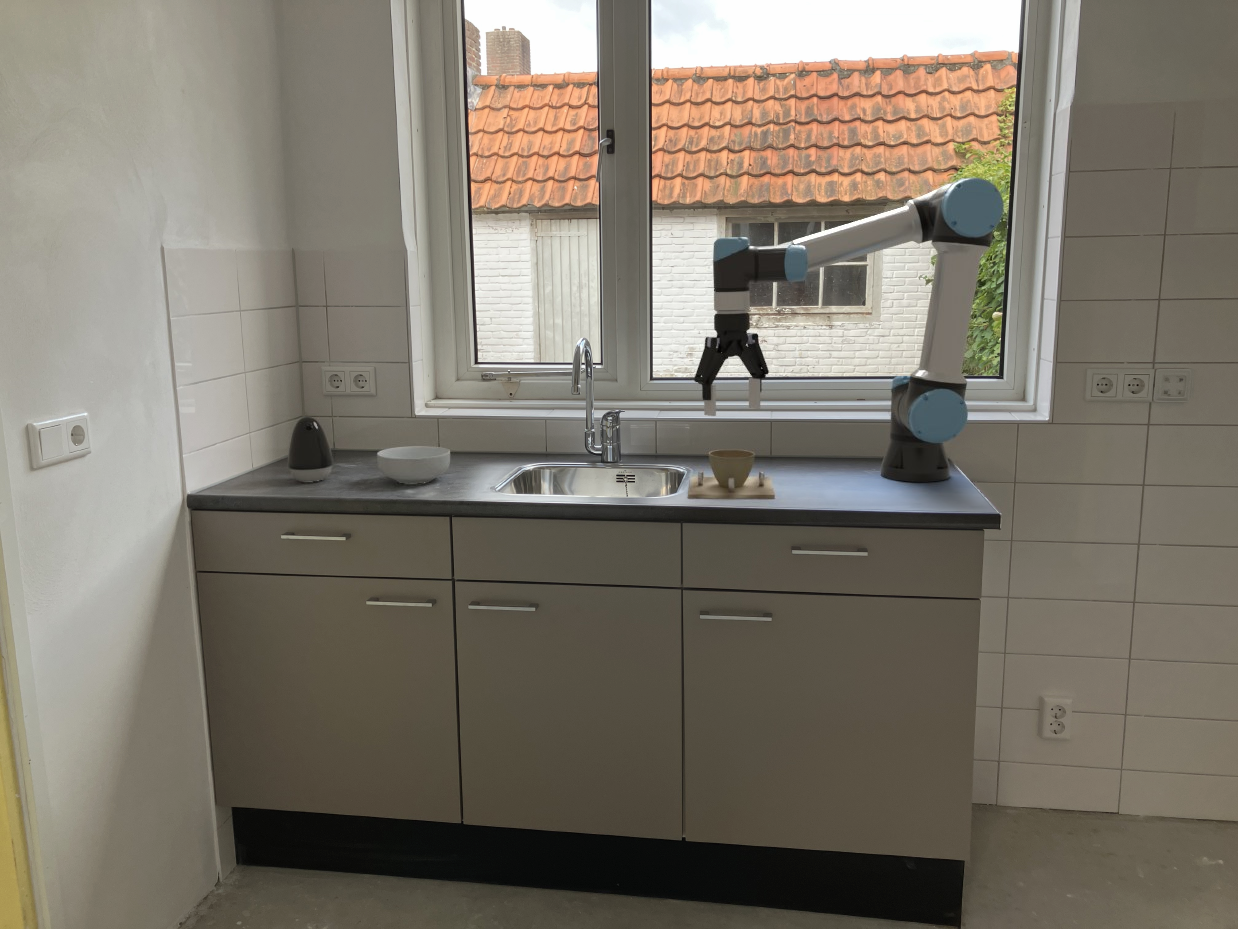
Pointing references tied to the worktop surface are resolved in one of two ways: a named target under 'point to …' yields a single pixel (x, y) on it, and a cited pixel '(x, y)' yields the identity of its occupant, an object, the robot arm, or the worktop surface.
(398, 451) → the cereal bowl
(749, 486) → the wooden peg board
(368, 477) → the worktop surface
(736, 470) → the flower pot
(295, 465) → the black egg-shaped dome
